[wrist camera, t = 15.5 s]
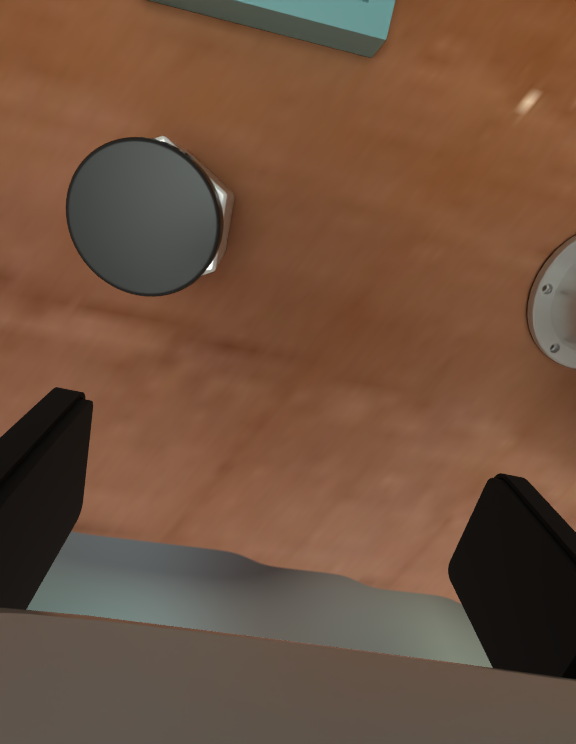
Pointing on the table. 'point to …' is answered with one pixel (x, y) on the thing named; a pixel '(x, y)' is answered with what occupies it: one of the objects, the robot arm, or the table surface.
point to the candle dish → (306, 19)
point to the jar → (148, 215)
